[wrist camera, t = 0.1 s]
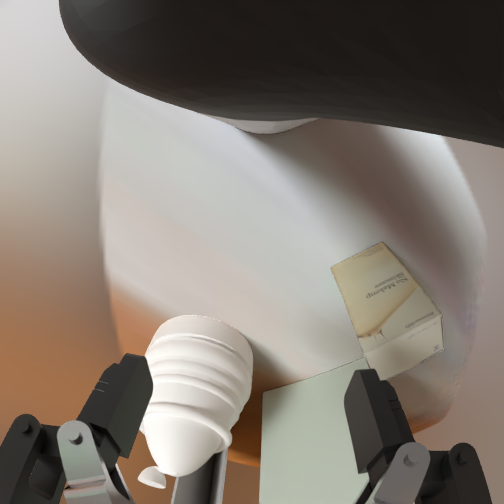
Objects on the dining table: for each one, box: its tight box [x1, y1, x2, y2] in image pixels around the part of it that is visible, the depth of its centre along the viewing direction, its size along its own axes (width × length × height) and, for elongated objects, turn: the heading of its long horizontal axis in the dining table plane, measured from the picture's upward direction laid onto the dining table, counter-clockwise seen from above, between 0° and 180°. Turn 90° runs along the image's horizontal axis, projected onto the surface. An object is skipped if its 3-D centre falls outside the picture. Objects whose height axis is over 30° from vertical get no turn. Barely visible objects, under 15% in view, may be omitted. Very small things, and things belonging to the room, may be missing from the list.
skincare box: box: [331, 242, 445, 381], centre depth 21 cm, size 6×4×12 cm
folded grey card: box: [171, 448, 228, 504], centre depth 24 cm, size 14×6×30 cm, turn 166°
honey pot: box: [138, 315, 253, 488], centre depth 24 cm, size 13×13×18 cm
